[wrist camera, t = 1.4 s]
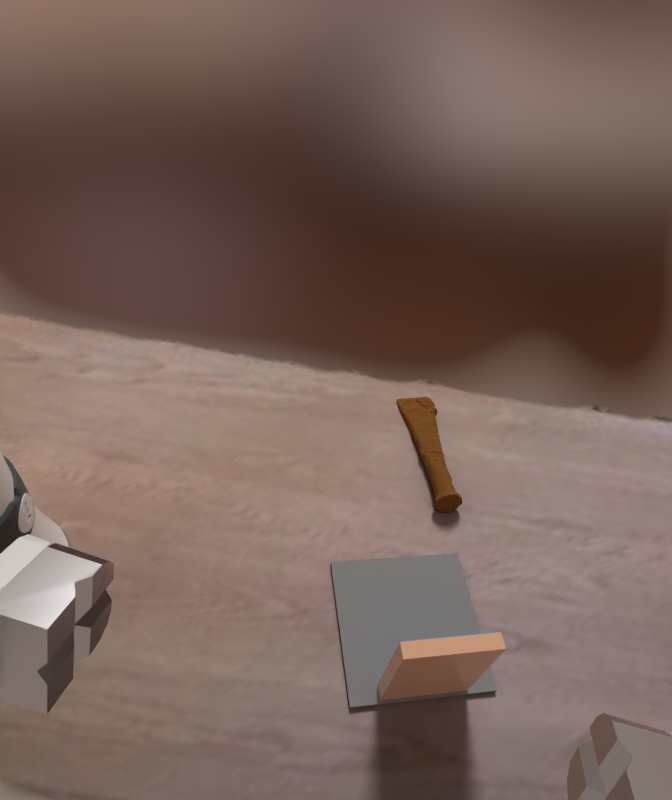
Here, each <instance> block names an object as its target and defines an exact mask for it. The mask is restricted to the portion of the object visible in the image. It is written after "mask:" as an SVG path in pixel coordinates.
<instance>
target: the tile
mask: <svg viewBox="0 0 672 800" xmlns="http://www.w3.org/2000/svg"><path fill="white" fill-rule="evenodd" d="M505 649H506V647H505V644H504V641H503V638H502V634H501V632H498V633H496V632H485V633H475V634H465V635H454V636H444V637H434V638H423V639H413V640H403V641H402V642H400V643H399V645H398V647H397V649H396V651H395V652H394V654H393V656H392V658H391V660H390V662H389V664H388V666H387V668H386V670H385V672H384V673H383V675H382V677H381V679H380V681H379V683H378V685H377V686H378V692H379V698H380V700H388V699H397V698H406V697H415V696H423V695H432V694H441V693H450V692H459V691H467V690H468V689H469V688H470V687H471V686H472V685H473V684H474V683H475V682H476V681H477V680H478V679H479V677H480V676H481V675H482V674H483V673H484V672H485V671H486V670H487V669H488V668H489V667H490V666H491V665H492V663H493V662H494V661H495V660H496V659H497V658H498V657H499V656H500V655H501V654H502V653H503V652H504V650H505Z"/></svg>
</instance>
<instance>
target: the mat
mask: <svg viewBox="0 0 672 800" xmlns="http://www.w3.org/2000/svg"><path fill="white" fill-rule="evenodd" d="M331 570H332V578H333V586H334V593H335V601H336V608H337V616H338V624H339V631H340V639H341V647H342V654H343V662H344V669H345V677H346V685H347V692H348V700H349V707H350V708H357V707H366V706H375V705H383V704H392V703H401V702H410V701H418V700H427V699H436V698H444V697H453V696H462V695H470V694H479V693H488V692H496V691H497V690H496V687H495V683H494V680H493V676H492V673H491V669H490V667H489V668H488V669H487V670H486V671H485V672H484V673H483V674H482V675H481V676H480V677H479V679H478V680H477V681H476V682H475V683H474V684H473V685H472V686H471V687H470V688H469V689H468V690H467V691H459V692H450V693H441V694H432V695H423V696H415V697H406V698H397V699H388V700H380V698H379V692H378V686H377V685H378V683H379V681H380V679H381V677H382V675H383V673H384V672H385V670H386V668H387V666H388V664H389V662H390V660H391V658H392V656H393V654H394V652H395V651H396V649H397V647H398V645H399V643H400V642H402V641H403V640H413V639H423V638H434V637H444V636H454V635H465V634H475V633H480V631H479V627H478V624H477V620H476V617H475V613H474V610H473V606H472V603H471V599H470V596H469V592H468V589H467V585H466V582H465V578H464V575H463V571H462V568H461V564H460V561H459V557H458V554H457V553H455V554H442V555H428V556H414V557H401V558H387V559H373V560H360V561H346V562H332V563H331Z"/></svg>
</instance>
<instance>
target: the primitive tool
mask: <svg viewBox="0 0 672 800" xmlns="http://www.w3.org/2000/svg"><path fill="white" fill-rule="evenodd" d="M396 402H397V405H398V408H399V410H400V412H401V414H402V416H403V418H404V420H405V422H406V424H407V426H408V428H409V430H410V432H411V435H412V438H413V440H414V441H415V443H416V446H417V449H418V451H419V454H420V456H421V459H422V461H423V464H424V466H425V468H426V471H427V473H428V476H429V479H430V481H431V484H432V488H433V491H434V496H435V502H434V505H433V507H434V509H435V510H436V511H439V512H451V511H454V510H456V509H457V508H458V506H460V505H461V504H462V498H461V496H460V495H459V494H458V493H457V492H456V491H455V489H454V487H453V485H452V479H451V476H450V474H449V472H448V470H447V467H446V464H445V461H444V454H443V452H442V448H441V443H440V440H439V435H438V428H437V423H436V418H435V413H437V409H436V408H435V405H434V403H433V402H432V401H431V399H430V398H427V397H422V398H405V399H397V401H396Z"/></svg>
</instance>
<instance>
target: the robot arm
mask: <svg viewBox="0 0 672 800" xmlns="http://www.w3.org/2000/svg"><path fill="white" fill-rule="evenodd" d="M112 580H113V563H111V562H110V561H108V560H105V559H102V558H99V557H96V556H93V555H90V554H87V553H84V552H81V551H78V550H75V549H72V548H69V547H68V543H67V540H66V537H65V535H64V533H63V532H62V530H61V529H60V528H59V526H58V525H57V524H56V523H54V522H53V521H52V520H51V519H49V518H48V517H46V516H45V515H44V514H43V513H41V512H40V511H39V510H38V509H37V508H36V507H35V506H34V505H33V503H32V500H31V498H30V495H29V493H28V491H27V489H26V487H25V485H24V483H23V481H22V479H21V477H20V476H19V474H18V473H17V471H16V469H15V468H14V466H13V465H12V463H11V462H10V461H9V460H8V459H7V458H6V457H4V456H3V455H2V454H1V452H0V701H3V702H7V703H10V704H13V705H17V706H20V707H24V708H27V709H30V710H34V711H37V712H40V713H44V714H48V712H49V711H50V710H51V708H52V707H53V705H54V704H55V703H56V701H57V700H58V699H59V697H60V696H61V694H62V693H63V692H64V690H65V689H66V688H67V686H68V685H69V683H70V682H71V681H72V679H73V665H74V663H76V662H78V661H80V660H82V659H84V658H86V657H88V656H89V655H90V654H91V653H92V651H93V650H94V648H95V647H96V645H97V644H98V642H99V641H100V639H101V636H102V634H103V632H104V630H105V628H106V626H107V623H108V620H109V616H110V612H111V603H112V599H111V597H110V596H109V594H108V593H107V591H106V588H107V587H108V585H109V584H110V583H111V582H112ZM590 731H591V736H592V741H590V742H587V743H585V744H582V745H580V746H578V748H577V750H576V751H575V753H574V755H573V757H572V759H571V761H570V767H569V772H568V777H567V790H568V800H672V733H667V732H665V731H663V730H659V729H656V728H652V727H649V726H646V725H642V724H639V723H636V722H632V721H629V720H626V719H622V718H619V717H615V716H612V715H609V714H605V713H603V714H601V715H599V716H598V717H596V719H595V720H594V722H593V723H592V725H591V726H590Z"/></svg>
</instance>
